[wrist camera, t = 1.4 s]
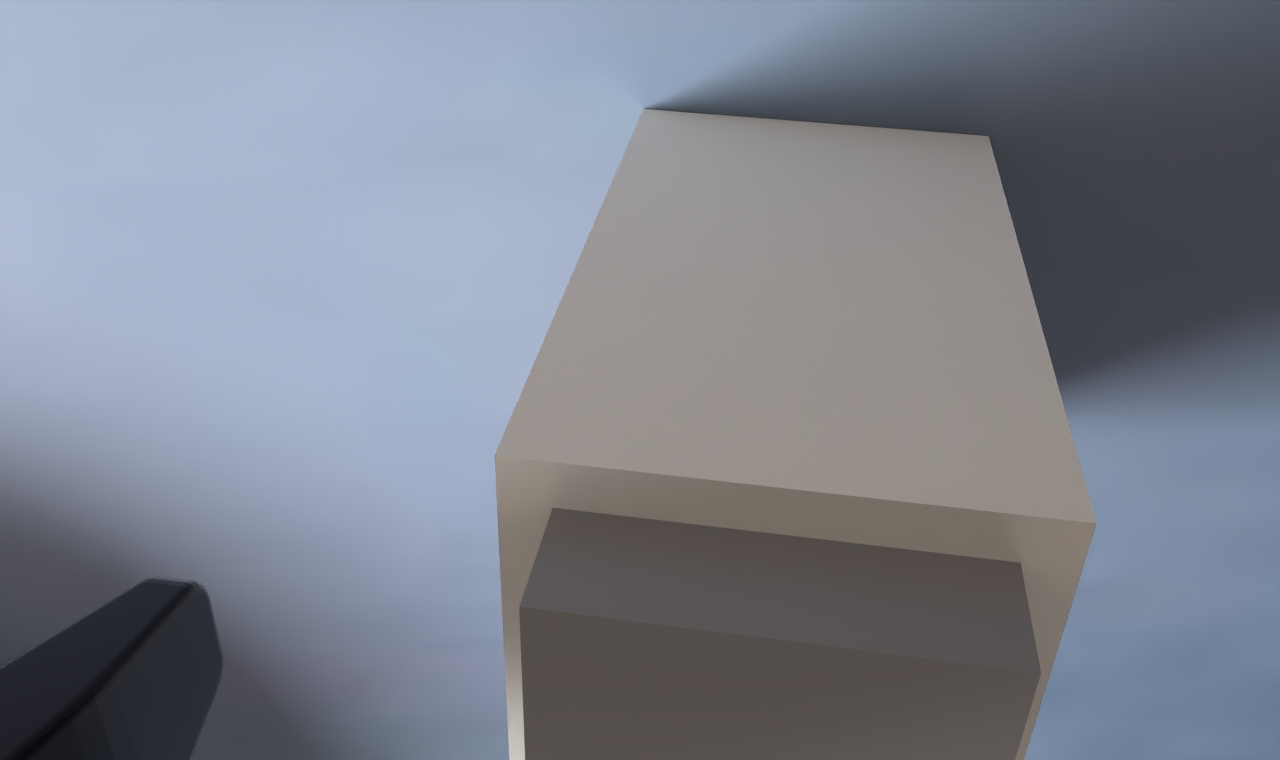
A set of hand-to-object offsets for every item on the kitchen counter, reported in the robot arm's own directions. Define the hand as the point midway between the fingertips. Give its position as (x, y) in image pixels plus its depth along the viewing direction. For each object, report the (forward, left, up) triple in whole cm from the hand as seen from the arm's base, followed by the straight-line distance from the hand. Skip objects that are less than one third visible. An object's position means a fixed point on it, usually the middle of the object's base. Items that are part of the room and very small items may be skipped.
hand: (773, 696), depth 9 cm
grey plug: (0, 0, -7) cm, 7 cm away
